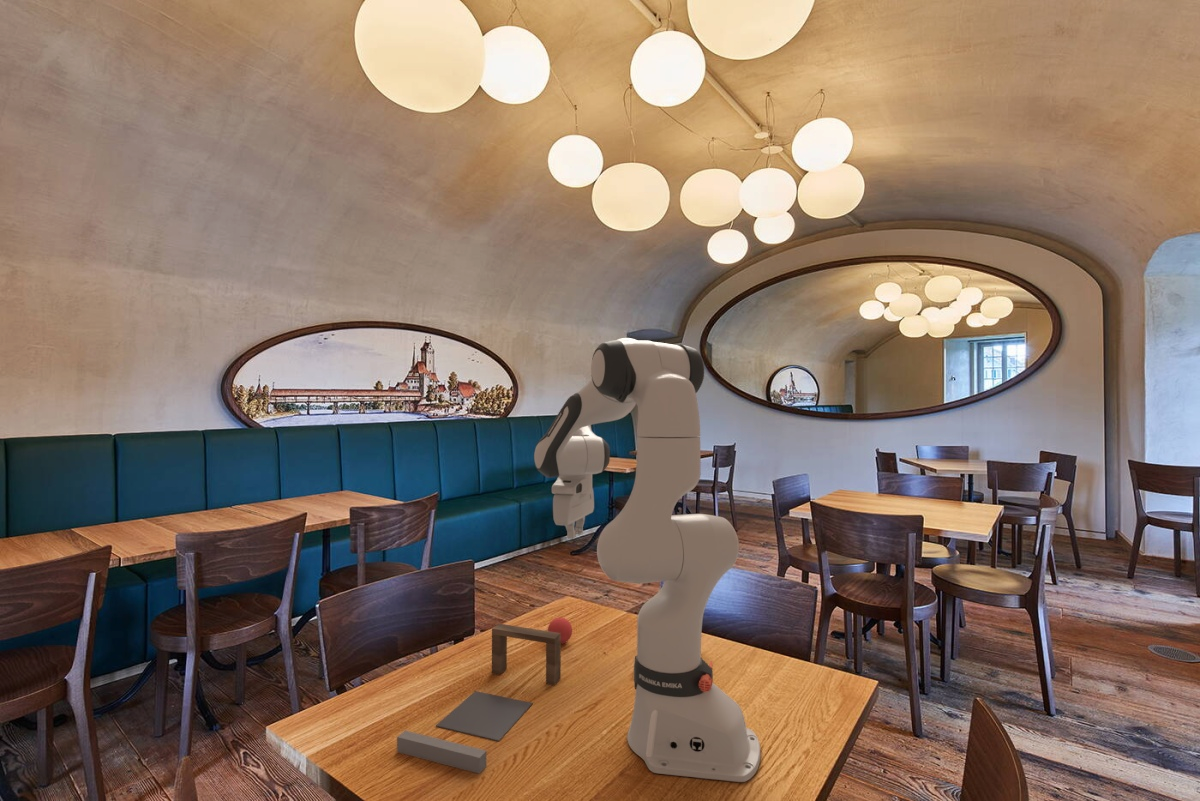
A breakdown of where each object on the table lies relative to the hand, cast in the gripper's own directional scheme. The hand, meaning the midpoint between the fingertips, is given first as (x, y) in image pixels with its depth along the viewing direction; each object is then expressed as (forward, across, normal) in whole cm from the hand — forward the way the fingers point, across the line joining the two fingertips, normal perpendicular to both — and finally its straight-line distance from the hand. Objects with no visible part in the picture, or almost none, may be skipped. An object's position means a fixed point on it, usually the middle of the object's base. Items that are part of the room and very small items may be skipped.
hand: (575, 536), depth 146 cm
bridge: (+24, +27, 0) cm, 36 cm away
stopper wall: (+24, +57, -1) cm, 62 cm away
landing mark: (+24, +43, -1) cm, 50 cm away
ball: (+21, +9, 0) cm, 23 cm away
